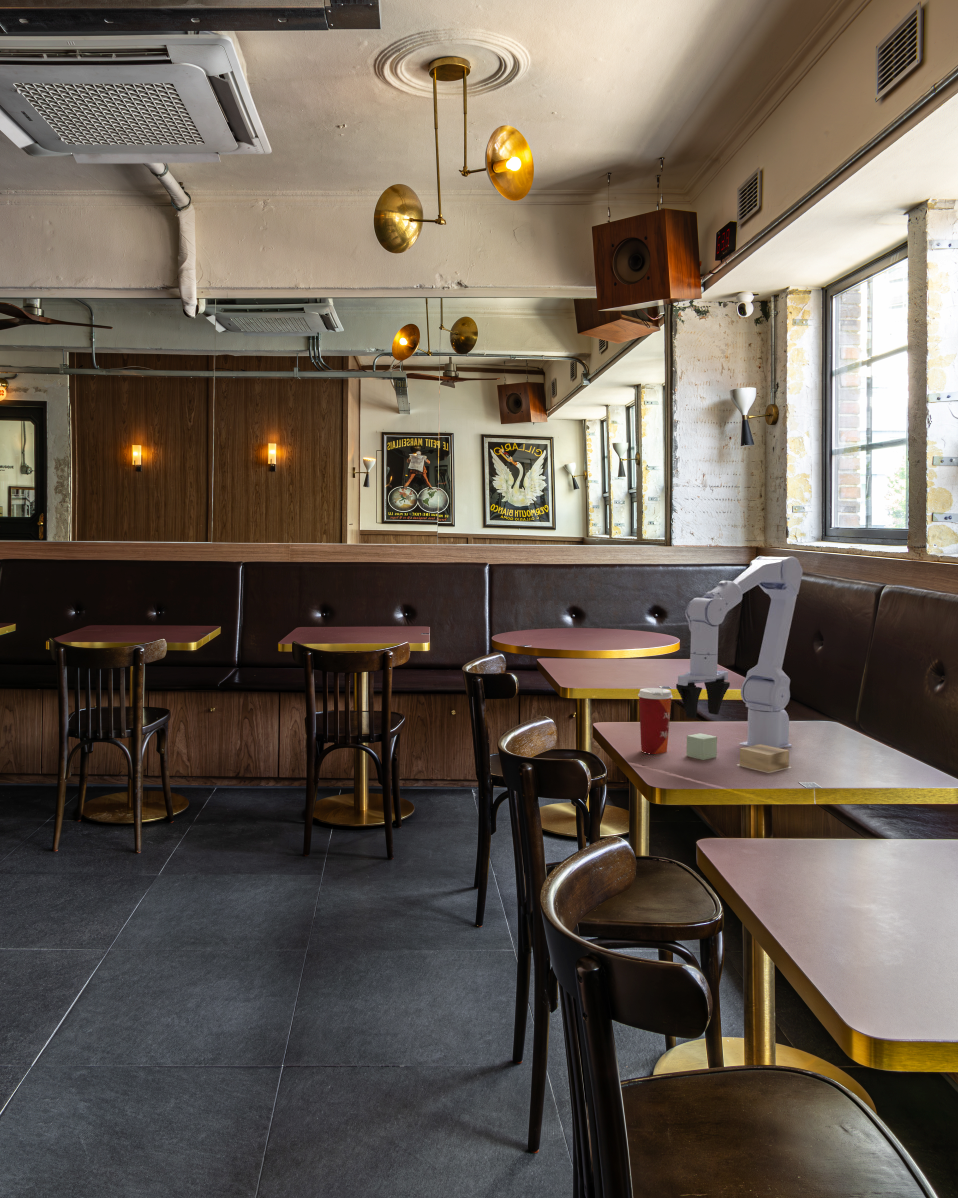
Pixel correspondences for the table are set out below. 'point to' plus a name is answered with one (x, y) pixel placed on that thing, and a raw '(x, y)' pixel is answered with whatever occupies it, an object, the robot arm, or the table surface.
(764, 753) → the oak base
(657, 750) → the paper cup
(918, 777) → the table surface
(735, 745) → the table surface
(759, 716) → the robot arm
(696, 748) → the sage block
